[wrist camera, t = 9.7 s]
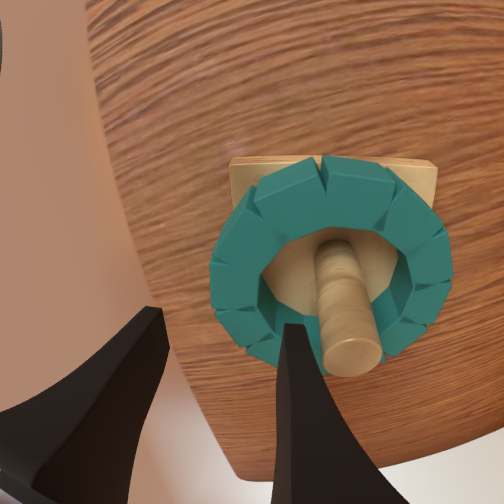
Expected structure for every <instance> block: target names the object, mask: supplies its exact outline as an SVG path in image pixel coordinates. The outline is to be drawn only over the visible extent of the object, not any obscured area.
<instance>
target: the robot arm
mask: <svg viewBox="0 0 504 504" xmlns="http://www.w3.org/2000/svg"><path fill="white" fill-rule="evenodd" d="M169 349H170V346H169V341H168V336H167V331H166V326H165V321H164V316H163V311H162V308H156V307H149V306H145V307H144V308H143V309H142V310H141V311H140V312H139V313H138V314H136V315H135V316H134V317H133V318H132V319H131V320H130V321H129V322H128V323H127V324H126V325H125V326H124V327H123V328H122V329H121V330H120V331H119V332H118V333H117V334H116V335H115V336H114V337H113V338H111V339H110V340H109V341H108V342H107V343H106V344H105V345H104V346H103V347H102V348H101V349H100V350H98V351H97V352H96V353H95V354H94V355H93V356H91V357H90V358H89V359H88V360H87V361H85V362H84V363H83V364H82V365H81V366H79V367H78V368H77V369H76V370H74V371H73V372H72V373H70V374H69V375H68V376H66V377H65V378H63V379H62V380H60V381H59V382H57V383H56V384H54V385H53V386H51V387H49V388H48V389H46V390H44V391H43V392H41V393H40V394H38V395H36V396H34V397H32V398H31V399H29V400H27V401H25V402H23V403H21V404H19V405H16V406H14V407H12V408H10V409H7V410H5V411H2V412H0V469H1V471H0V504H127V502H128V493H129V486H130V480H131V474H132V469H133V464H134V459H135V454H136V450H137V446H138V442H139V438H140V434H141V430H142V427H143V424H144V421H145V419H146V416H147V414H148V411H149V408H150V406H151V403H152V401H153V398H154V396H155V393H156V391H157V388H158V385H159V383H160V380H161V378H162V375H163V373H164V369H165V365H166V361H167V357H168V353H169ZM276 426H277V449H276V463H275V472H274V481H273V490H272V498H271V504H409V502H408V501H407V500H406V499H404V498H403V496H402V495H401V494H400V493H399V492H398V491H397V490H396V489H395V488H394V487H393V486H392V485H391V484H390V483H389V481H388V480H387V479H386V478H385V477H384V476H383V474H382V473H381V472H380V471H379V470H378V468H377V467H376V466H375V465H374V463H373V462H372V461H371V459H370V458H369V457H368V455H367V454H366V452H365V451H364V450H363V448H362V447H361V446H360V444H359V443H358V441H357V440H356V438H355V437H354V435H353V434H352V432H351V430H350V429H349V427H348V425H347V424H346V422H345V420H344V419H343V417H342V415H341V413H340V412H339V410H338V408H337V406H336V404H335V402H334V400H333V398H332V396H331V394H330V392H329V390H328V388H327V385H326V383H325V381H324V379H323V376H322V374H321V371H320V369H319V367H318V364H317V362H316V359H315V356H314V353H313V350H312V347H311V344H310V341H309V338H308V334H307V330H306V327H305V325H304V324H294V323H284V329H283V336H282V342H281V348H280V354H279V360H278V370H277V382H276Z"/></svg>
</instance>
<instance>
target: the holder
mask: <svg viewBox="0 0 504 504" xmlns="http://www.w3.org/2000/svg"><path fill="white" fill-rule="evenodd" d="M322 156H323V155H284V156H252V157H234V158H233V159H232V160H231V162H230V163H229V165H228V166H229V176H230V185H231V195H232V204H233V211H234V209H235V208H236V207H237V205H238V204H239V202H240V201H241V199H242V198H243V196H244V195H245V194H246V192H247V191H248V189H249V188H250V186H251V185H253V186H255V187H256V188H257V186H258V182H259V179H260V178H263V177H265V176H267V175H269V174H272V173H274V172H276V171H279V170H281V169H283V168H286V167H288V166H290V165H293V164H295V163H297V162H300V161H302V160H304V159H307V158H309V157H313V158H314V160H315V162H316V164H317V166H318V168H319V171H320V168H321V160H322ZM328 156H336V157H343V158H351V159H357V160H364V161H370V162H376V163H379V164H380V165H381V166H382V167H383V168H384V169H385V168H386V167H388V168H389V169H391V170H392V171H393V172H394V173H395V174H396V175H397V176H398V177H400V178H401V179H402V180H403V181H404V182H405V183H406V184H407V185H408V186H409V187H410V188H412V189H413V190H414V191H415V192H416V193H417V194H418V195H419V196H420V197H421V198H422V199H423V200H424V201H425V202H426V203H427V204H428V206H429V207H430V208H431V209H432V207H433V201H434V195H435V188H436V181H437V174H438V167H436V166H435V165H434V164H432V163H431V162H429V161H428V160H419V159H406V158H390V157H371V156H339V155H328ZM397 260H398V254H397V250H396V248H395V247H394V246H393V245H392V244H390V243H389V242H388V241H387V240H385V239H384V238H383V237H382V236H380V235H379V234H378V233H376V232H374V231H366V230H357V229H348V228H339V227H328V228H325V229H322V230H320V231H317V232H314V233H312V234H309V235H307V236H304V237H301V238H299V239H296V240H294V241H291V242H288V243H286V244H285V245H284V247H283V248H282V249H281V250H280V251H279V253H278V254H277V255H276V256H275V257H274V259H273V260H272V261H271V262H270V263H269V264H268V266H267V267H266V268H265V269H264V270H263V272H262V277H263V278H264V280H265V282H266V283H267V285H268V287H269V288H270V290H271V292H272V293H273V295H274V297H275V298H276V300H277V301H279V302H281V303H283V304H285V305H286V306H288V307H290V308H292V309H294V310H295V311H297V312H299V313H301V314H302V315H309V316H319V331H320V346H321V362H322V366H323V367H324V369H325V370H326V371H327V372H328V373H330V374H332V375H334V376H338V377H355V376H359V375H362V374H365V373H367V372H369V371H370V370H372V369H373V368H375V367H376V366H377V365H378V363H379V362H380V360H381V358H382V347H381V342H380V338H379V334H378V330H377V326H376V322H375V318H374V314H373V311H372V307H371V302H372V301H374V300H375V299H376V298H377V297H378V296H379V295H380V294H381V293H382V292H383V291H384V290H385V289H387V288H388V287H389V284H390V281H391V278H392V275H393V272H394V270H395V267H396V264H397Z"/></svg>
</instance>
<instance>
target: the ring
mask: <svg viewBox="0 0 504 504" xmlns="http://www.w3.org/2000/svg"><path fill="white" fill-rule="evenodd" d="M443 226H444V223H443V222H442V220H441V219H440V218H439V217H438V216H437V215H436V213H435V212H434V211H433V210H432V209H431V208H430V207H429V206H428V204H427V203H426V202H425V201H424V200H423V199H422V198H421V197H420V196H419V195H418V194H417V193H416V192H415V191H414V190H413V189H412V188H410V187H409V186H408V185H407V184H406V183H405V182H404V181H403V180H402V179H401V178H400V177H398V176H397V175H396V174H395V173H394V172H393V171H392V170H391V169H389V168H388V167H386V168H385V169H384V168H383V167H382V166H381V165H380V164H379V163H376V162H370V161H364V160H357V159H351V158H343V157H336V156H328V155H323V156H322V160H321V168H320V171H319V168H318V166H317V164H316V162H315V160H314V158H313V157H309V158H307V159H304V160H302V161H300V162H297V163H295V164H293V165H290V166H288V167H286V168H283V169H281V170H279V171H276V172H274V173H272V174H269V175H267V176H265V177H263V178H260V179H259V182H258V186H257V188H256V187H255V186H253V185H251V186H250V188H249V189H248V191H247V192H246V194H245V195H244V196H243V198H242V199H241V201H240V202H239V204H238V205H237V207H236V208H235V209H234V211H233V212H232V214H231V215H230V217H229V218H228V220H227V221H226V223H225V224H224V226H223V228H222V230H221V233H220V235H219V238H218V240H217V243H216V245H215V248H214V250H213V253H212V258H211V261H210V263H209V266H210V291H211V307H212V308H216V311H215V316H216V318H217V319H218V320H219V322H220V323H221V324H222V325H223V327H224V328H225V329H226V331H227V332H228V333H229V335H230V336H231V337H232V338H233V340H234V341H235V342H236V343H237V345H238V346H239V347H245V346H246V353H248V354H250V355H252V356H254V357H256V358H258V359H260V360H262V361H264V362H267V363H269V364H271V365H273V366H275V367H277V368H278V360H279V354H280V348H281V342H282V336H283V329H284V323H294V324H304V325H305V327H306V330H307V334H308V338H309V341H310V344H311V347H312V350H313V353H314V356H315V359H316V362H317V364H318V367H319V369H320V371H321V374H326V375H332V374H330V373H328V372H327V371H326V370H325V369H324V367H323V366H322V362H321V346H320V331H319V316H309V315H302V314H301V313H299V312H297V311H295V310H294V309H292V308H290V307H288V306H286V305H285V304H283V303H281V302H279V301H277V300H276V298H275V297H274V295H273V293H272V292H271V290H270V288H269V287H268V285H267V283H266V282H265V280H264V278H263V277H262V272H263V270H264V269H265V268H266V267H267V266H268V264H269V263H270V262H271V261H272V260H273V259H274V257H275V256H276V255H277V254H278V253H279V251H280V250H281V249H282V248H283V247H284V245H285V244H286V243H288V242H291V241H294V240H296V239H299V238H301V237H304V236H307V235H309V234H312V233H314V232H317V231H320V230H322V229H325V228H328V227H339V228H348V229H357V230H366V231H374V232H376V233H378V234H379V235H380V236H382V237H383V238H384V239H385V240H387V241H388V242H389V243H390V244H392V245H393V246H394V247H395V248H396V250H397V254H398V260H397V264H396V267H395V270H394V272H393V275H392V278H391V281H390V284H389V287H388V288H387V289H385V290H384V291H383V292H382V293H381V294H380V295H379V296H378V297H377V298H376V299H375V300H374V301H372V302H371V307H372V311H373V314H374V318H375V322H376V326H377V330H378V334H379V338H380V342H381V347H382V358H381V360H380V362H379V363H382V362H385V361H387V359H386V355H385V353H386V354H388V355H390V356H392V357H395V356H396V355H397V354H399V353H400V352H401V351H402V350H404V349H405V348H406V347H408V346H409V345H410V344H412V343H413V342H414V341H415V340H417V339H418V338H419V337H420V336H422V335H423V334H424V333H425V332H426V331H427V330H428V328H427V326H426V324H434V322H435V320H436V318H437V316H438V314H439V312H440V310H441V308H442V306H443V304H444V302H445V300H446V298H447V296H448V293H449V291H450V289H451V287H452V283H451V281H450V280H449V279H451V278H453V277H454V275H453V266H452V257H451V249H450V242H449V235H448V232H447V230H446V229H445V228H444V227H443ZM379 363H378V364H379Z"/></svg>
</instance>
